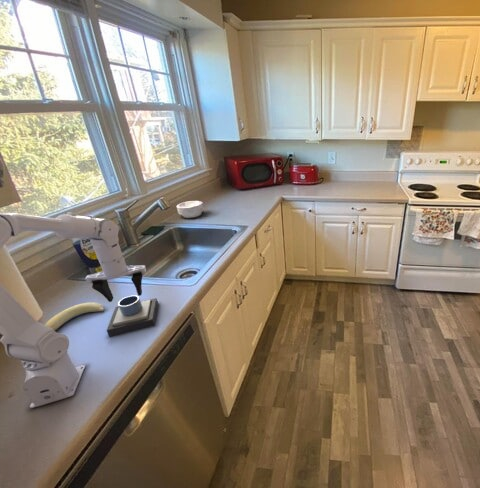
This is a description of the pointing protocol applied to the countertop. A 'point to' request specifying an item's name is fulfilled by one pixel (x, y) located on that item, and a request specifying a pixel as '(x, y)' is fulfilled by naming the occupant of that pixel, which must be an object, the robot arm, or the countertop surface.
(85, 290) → the countertop surface
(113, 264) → the robot arm
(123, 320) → the platform
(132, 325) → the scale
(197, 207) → the paper bowls
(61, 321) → the fruit
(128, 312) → the bowl
